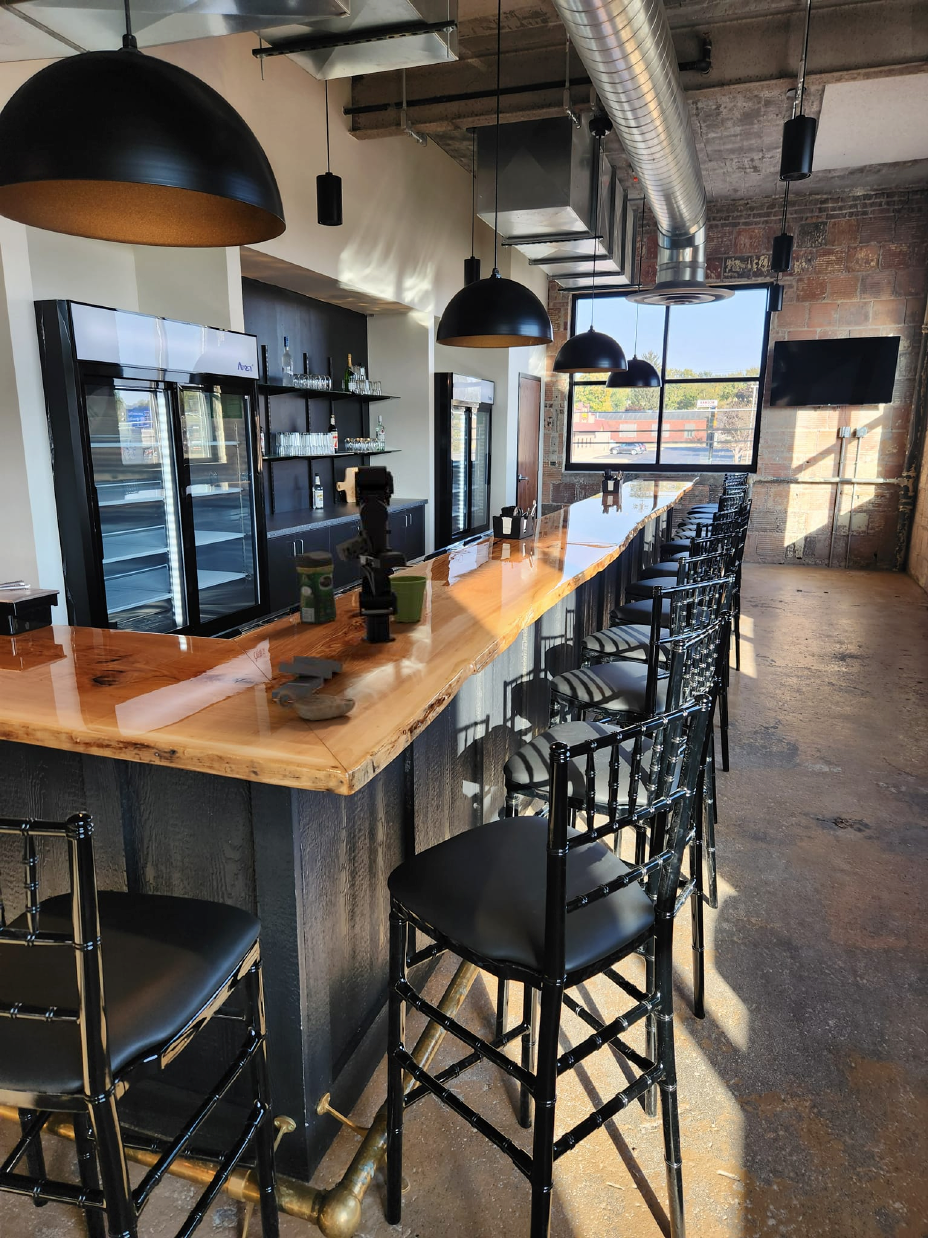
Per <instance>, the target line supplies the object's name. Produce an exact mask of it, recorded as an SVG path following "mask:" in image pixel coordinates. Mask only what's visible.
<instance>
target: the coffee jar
mask: <svg viewBox="0 0 928 1238" xmlns="http://www.w3.org/2000/svg"><path fill="white" fill-rule="evenodd" d="M334 567H335V566H334V559H333V555H332V554H331V552H329V551H322V550H321V551H311V552H306V553H301V554H298V555H297V556H296V570H297V573H298V576H299V620H300V621H301V622H302V623H304V624H308V625H311V624H324V623H327V622H331V621H333V620H336V619H337V615H338V614H337V607H336V598H335V591H334V590H335V589H334V584H333V583H334V581H333V572H334Z"/></svg>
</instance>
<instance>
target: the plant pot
mask: <svg viewBox="0 0 928 1238" xmlns="http://www.w3.org/2000/svg"><path fill="white" fill-rule="evenodd" d="M389 578H390V581H391V590H394V593H395V594H396V595H397V597H398V614H396V615H395V616H393V615H392V616H393V621H395V622H397V623H400V622H402V623H405V624H408V623H409V624H410V623H416V622H418V621H421V619H422V615H423V605H424V604H423V603H424V598H425V590H426V587H427V581H428V580H429V577H427V576H424V575H397V576H391V577H390V576H389Z"/></svg>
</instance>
